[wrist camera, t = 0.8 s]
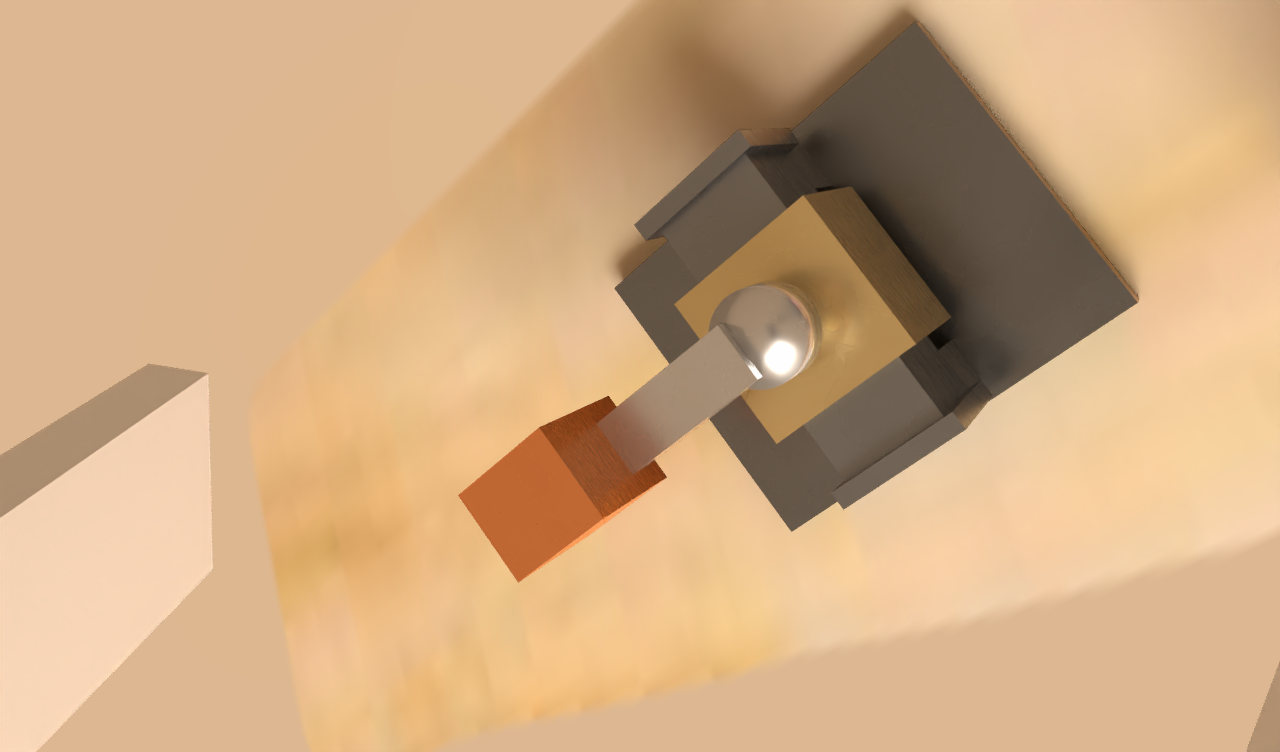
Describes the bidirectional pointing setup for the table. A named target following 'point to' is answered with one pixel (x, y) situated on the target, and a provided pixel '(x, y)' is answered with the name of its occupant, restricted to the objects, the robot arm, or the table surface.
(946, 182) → the valve body
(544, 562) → the valve lever
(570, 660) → the table surface
